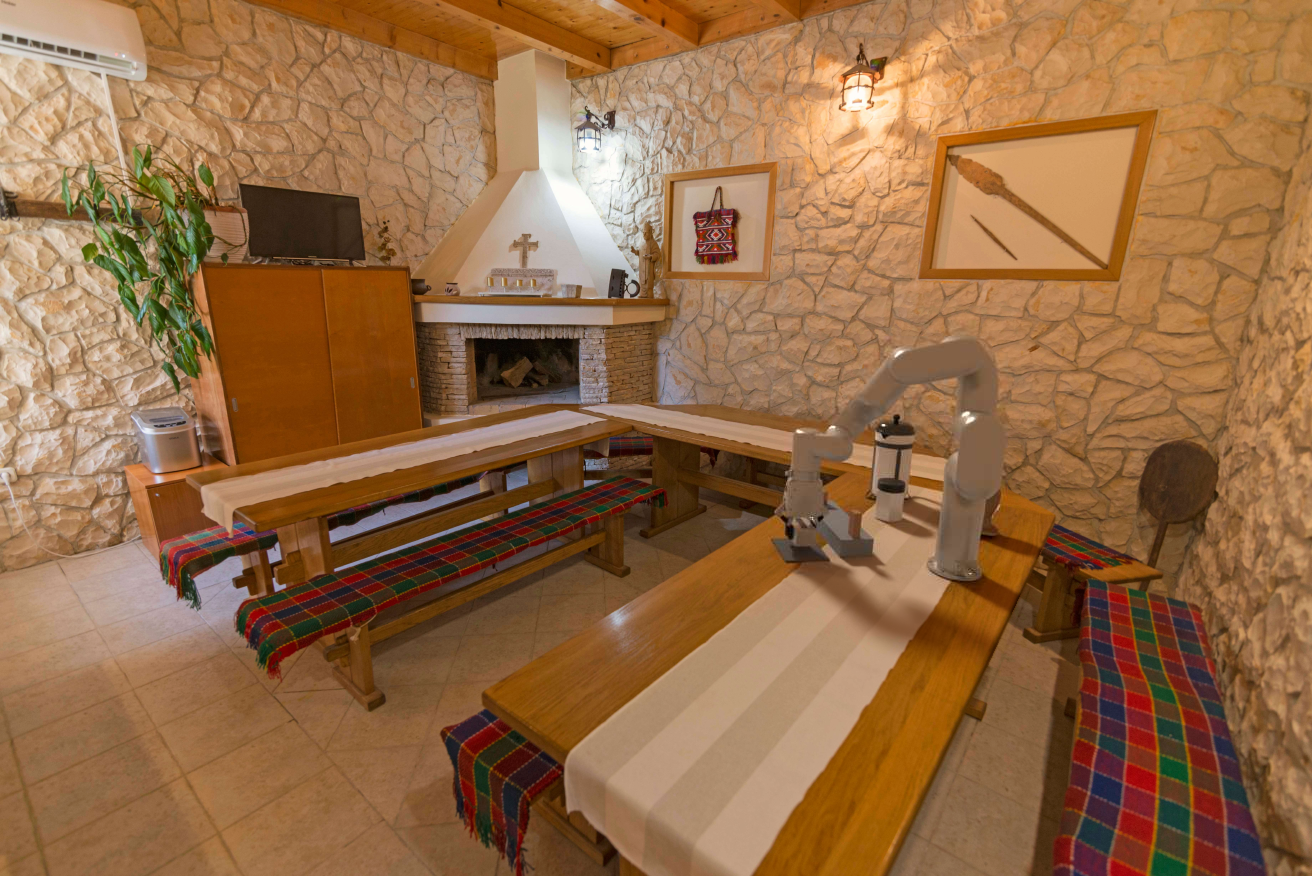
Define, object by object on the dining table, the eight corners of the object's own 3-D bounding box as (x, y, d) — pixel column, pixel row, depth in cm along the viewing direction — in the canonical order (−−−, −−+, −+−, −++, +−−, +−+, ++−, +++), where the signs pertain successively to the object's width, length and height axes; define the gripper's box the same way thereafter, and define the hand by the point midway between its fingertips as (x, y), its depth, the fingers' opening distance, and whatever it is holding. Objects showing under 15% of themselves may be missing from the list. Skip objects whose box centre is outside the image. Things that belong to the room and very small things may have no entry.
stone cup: (997, 528, 172) (1005, 481, 168) (997, 542, 162) (1005, 492, 158) (942, 518, 179) (948, 473, 176) (939, 531, 170) (945, 483, 166)
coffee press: (919, 507, 189) (930, 419, 181) (869, 504, 191) (878, 417, 184) (905, 490, 205) (915, 409, 198) (860, 488, 208) (867, 407, 200)
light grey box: (815, 545, 151) (817, 529, 150) (795, 546, 150) (796, 529, 149) (803, 530, 160) (804, 515, 159) (784, 531, 160) (785, 515, 159)
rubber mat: (829, 560, 150) (829, 559, 150) (785, 562, 149) (785, 560, 149) (811, 539, 163) (811, 537, 163) (771, 540, 162) (771, 538, 162)
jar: (907, 518, 179) (912, 482, 176) (894, 524, 174) (898, 487, 171) (881, 510, 186) (885, 475, 183) (867, 516, 181) (871, 480, 178)
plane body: (872, 556, 153) (876, 514, 150) (839, 557, 152) (843, 515, 149) (830, 514, 182) (833, 479, 179) (803, 515, 181) (806, 479, 178)
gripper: (777, 479, 147) (773, 543, 151) (841, 478, 148) (835, 542, 152) (769, 470, 154) (765, 532, 158) (830, 470, 155) (825, 531, 159)
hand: (799, 536), depth 155 cm, fingers closed on light grey box, 5 cm apart
